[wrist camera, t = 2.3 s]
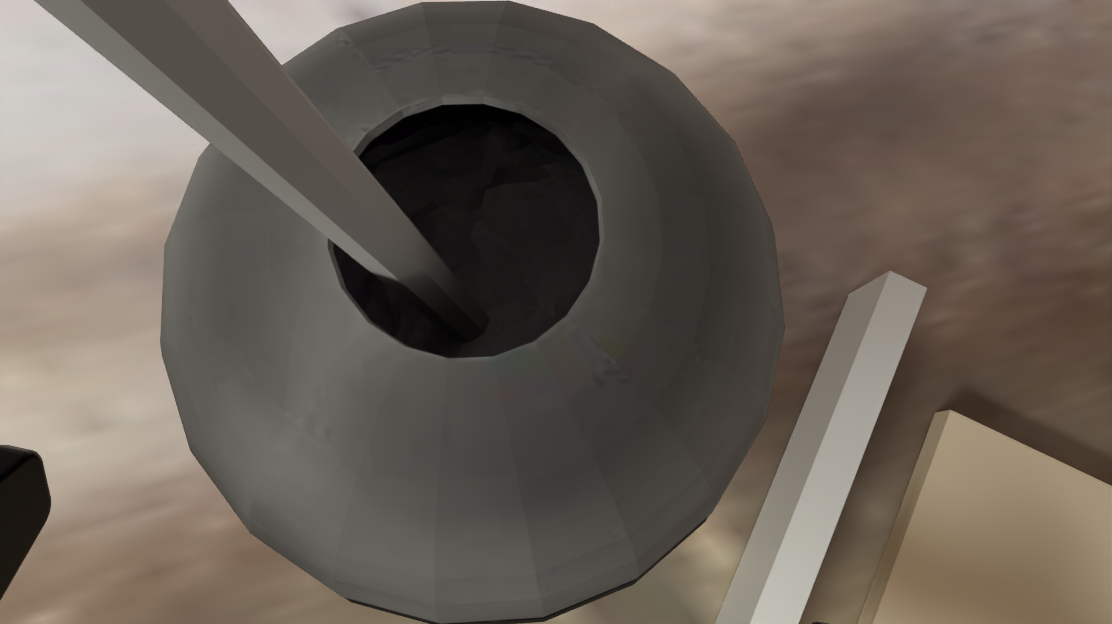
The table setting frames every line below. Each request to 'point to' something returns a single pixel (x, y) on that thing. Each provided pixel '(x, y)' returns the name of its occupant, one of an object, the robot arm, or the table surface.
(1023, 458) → the coaster
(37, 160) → the table surface
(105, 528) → the table surface
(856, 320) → the divider wall
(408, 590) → the beverage cup
